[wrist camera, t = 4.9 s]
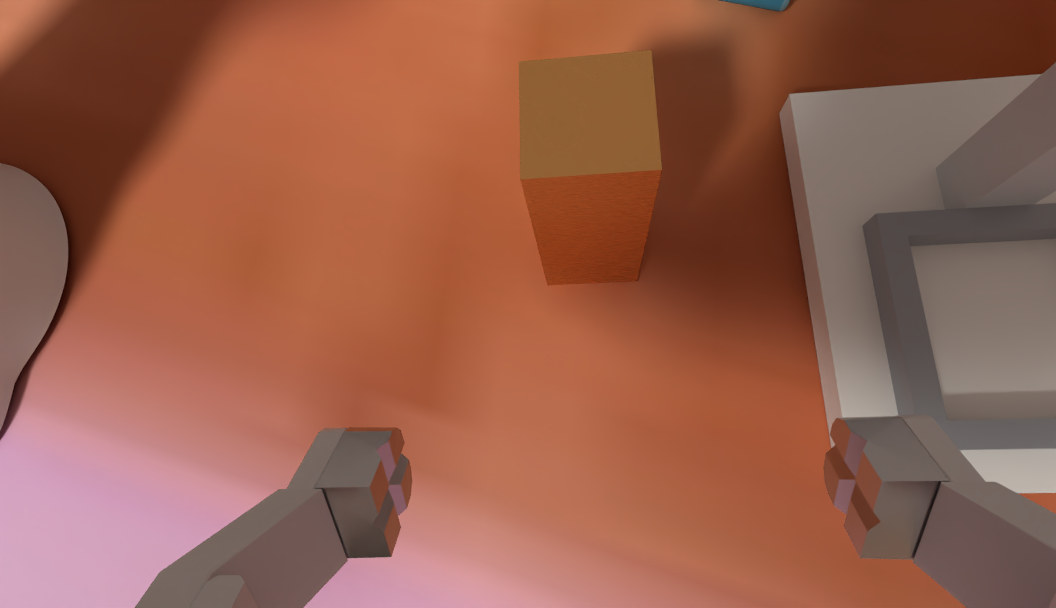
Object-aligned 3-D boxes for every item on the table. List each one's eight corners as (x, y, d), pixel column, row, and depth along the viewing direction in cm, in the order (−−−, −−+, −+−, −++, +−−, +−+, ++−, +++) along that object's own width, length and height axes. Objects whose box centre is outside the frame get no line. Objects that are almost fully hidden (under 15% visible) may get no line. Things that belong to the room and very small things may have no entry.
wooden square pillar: (637, 280, 26) (662, 169, 16) (547, 285, 26) (520, 179, 17) (631, 199, 27) (651, 50, 17) (545, 204, 27) (518, 61, 18)
